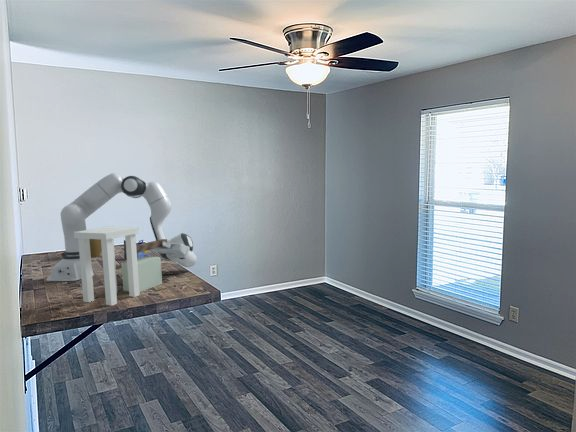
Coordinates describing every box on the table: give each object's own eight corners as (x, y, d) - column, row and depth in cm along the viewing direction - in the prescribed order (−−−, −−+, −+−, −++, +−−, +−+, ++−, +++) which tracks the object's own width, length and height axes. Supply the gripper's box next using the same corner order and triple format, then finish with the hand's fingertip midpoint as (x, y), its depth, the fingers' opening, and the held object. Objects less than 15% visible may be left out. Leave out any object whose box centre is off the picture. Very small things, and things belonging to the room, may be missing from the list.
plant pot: (100, 258, 283) (98, 233, 281) (77, 258, 283) (75, 234, 282) (110, 253, 298) (108, 230, 296) (88, 254, 298) (86, 231, 297)
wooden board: (132, 254, 198) (132, 247, 198) (127, 254, 199) (127, 247, 199) (167, 245, 220) (167, 239, 220) (162, 244, 221) (162, 239, 221)
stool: (111, 306, 178) (105, 233, 175) (79, 302, 185) (73, 232, 182) (143, 294, 194) (138, 227, 191) (112, 291, 202) (107, 226, 198)
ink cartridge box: (138, 266, 254) (137, 241, 253) (131, 265, 256) (129, 241, 255) (150, 262, 263) (148, 239, 262) (142, 262, 265) (141, 238, 264)
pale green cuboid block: (138, 292, 198) (136, 264, 196) (123, 290, 202) (121, 263, 200) (162, 283, 212) (160, 257, 211) (147, 282, 216) (146, 256, 215)
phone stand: (136, 259, 276) (135, 240, 275) (126, 260, 273) (125, 241, 272) (134, 256, 284) (132, 238, 282) (124, 258, 281) (123, 239, 280)
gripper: (160, 245, 233) (143, 236, 221) (192, 247, 225) (176, 237, 213) (157, 256, 231) (140, 248, 219) (189, 258, 222) (173, 249, 211)
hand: (158, 242), depth 216 cm, fingers closed on wooden board, 3 cm apart
